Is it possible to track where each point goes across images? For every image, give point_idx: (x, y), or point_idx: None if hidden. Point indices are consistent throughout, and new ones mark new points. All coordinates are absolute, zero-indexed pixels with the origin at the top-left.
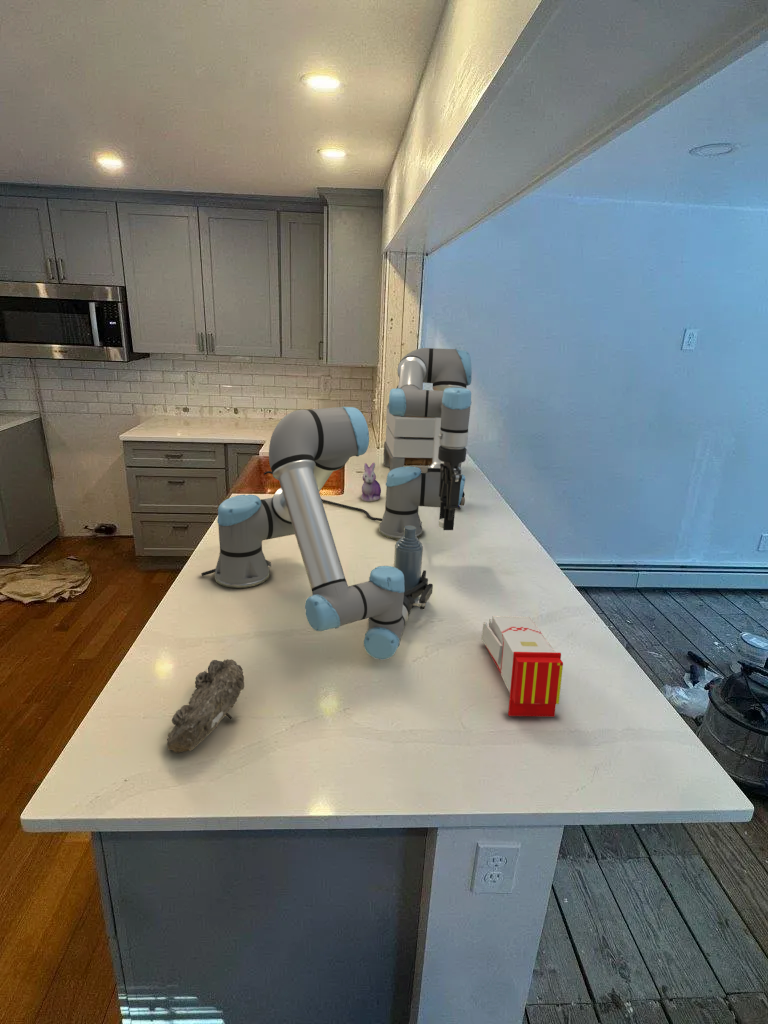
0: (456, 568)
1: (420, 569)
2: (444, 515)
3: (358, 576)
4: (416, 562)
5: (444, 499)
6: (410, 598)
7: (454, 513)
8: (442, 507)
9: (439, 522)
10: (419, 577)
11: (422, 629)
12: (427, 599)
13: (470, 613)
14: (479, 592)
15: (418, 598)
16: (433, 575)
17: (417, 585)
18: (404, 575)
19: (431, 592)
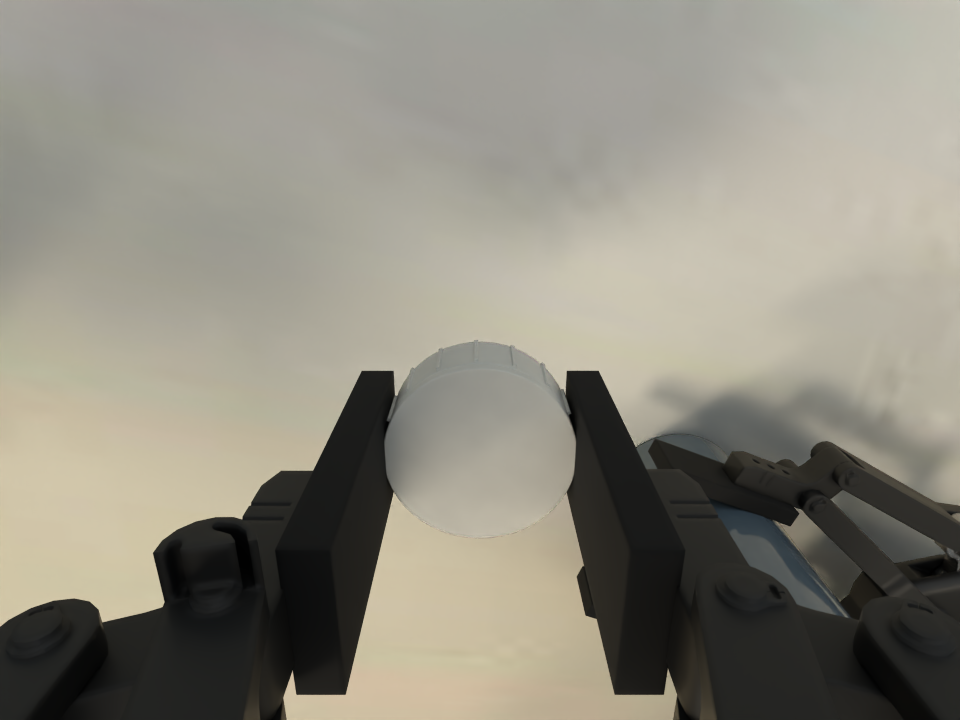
0: (320, 128)
1: (806, 564)
2: (592, 586)
3: (415, 635)
4: None
5: (275, 686)
6: (955, 595)
7: (656, 492)
8: (358, 602)
9: (488, 526)
10: (785, 534)
11: (930, 467)
12: (902, 484)
13: (877, 214)
14: (665, 76)
15: (723, 456)
16: (418, 301)
17: (838, 544)
18: None
19: (850, 455)
